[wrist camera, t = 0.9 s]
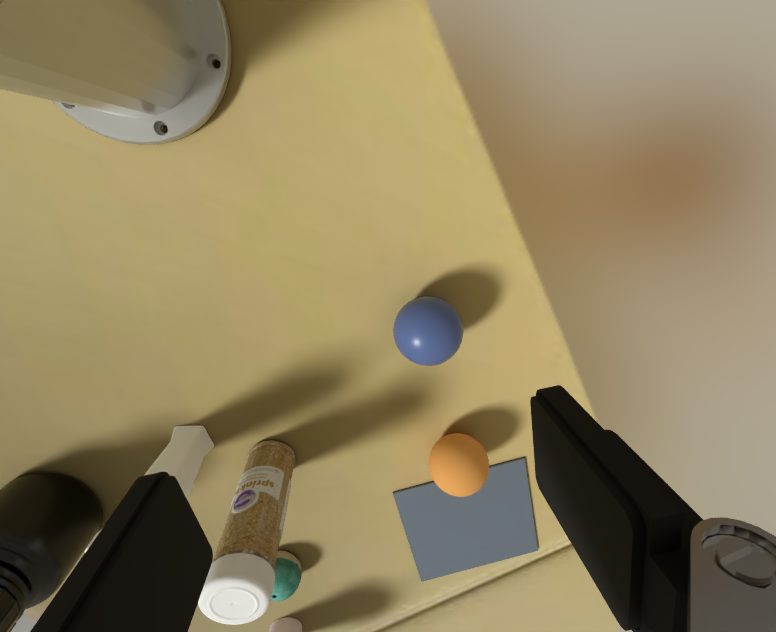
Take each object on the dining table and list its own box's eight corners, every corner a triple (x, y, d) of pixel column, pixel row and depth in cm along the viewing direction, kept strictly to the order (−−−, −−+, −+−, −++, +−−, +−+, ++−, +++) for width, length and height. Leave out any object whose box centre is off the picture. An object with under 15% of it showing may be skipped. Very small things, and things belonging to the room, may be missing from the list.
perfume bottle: (213, 465, 37) (130, 647, 23) (164, 455, 36) (47, 638, 22) (223, 427, 35) (142, 595, 22) (173, 415, 35) (54, 583, 21)
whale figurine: (313, 568, 43) (310, 604, 40) (256, 594, 44) (248, 631, 40) (284, 536, 41) (278, 571, 38) (225, 564, 42) (214, 600, 38)
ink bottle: (-21, 476, 35) (-194, 622, 24) (78, 457, 35) (-48, 592, 24) (33, 551, 39) (-96, 708, 27) (122, 533, 39) (31, 681, 28)
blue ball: (383, 297, 32) (389, 321, 27) (446, 280, 32) (465, 301, 27) (398, 354, 34) (407, 386, 29) (458, 338, 34) (477, 367, 29)
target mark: (392, 492, 40) (393, 493, 40) (523, 457, 40) (524, 458, 40) (421, 579, 45) (421, 581, 45) (537, 548, 45) (538, 550, 45)
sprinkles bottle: (274, 429, 36) (235, 569, 24) (306, 460, 38) (285, 605, 25) (237, 455, 37) (179, 604, 24) (269, 484, 38) (231, 638, 26)
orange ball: (418, 429, 38) (429, 471, 32) (473, 415, 38) (493, 454, 32) (430, 472, 40) (442, 517, 35) (482, 458, 40) (501, 501, 35)
